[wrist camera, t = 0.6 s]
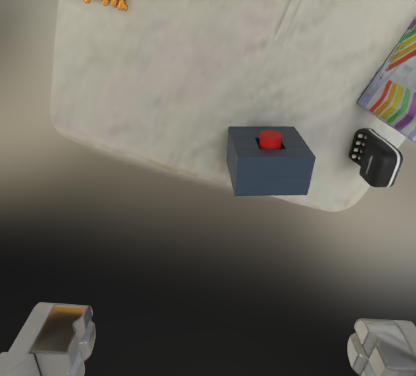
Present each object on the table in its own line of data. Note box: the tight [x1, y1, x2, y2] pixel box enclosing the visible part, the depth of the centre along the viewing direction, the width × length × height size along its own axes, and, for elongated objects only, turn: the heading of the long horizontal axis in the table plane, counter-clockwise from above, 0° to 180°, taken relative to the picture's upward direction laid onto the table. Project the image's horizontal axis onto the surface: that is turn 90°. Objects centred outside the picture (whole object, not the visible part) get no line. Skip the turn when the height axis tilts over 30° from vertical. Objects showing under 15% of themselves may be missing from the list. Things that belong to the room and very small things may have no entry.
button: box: [259, 130, 282, 149], centre depth 55 cm, size 3×4×4 cm
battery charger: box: [349, 128, 403, 188], centre depth 59 cm, size 7×4×11 cm, turn 178°
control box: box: [227, 127, 316, 196], centre depth 57 cm, size 7×12×12 cm, turn 89°
